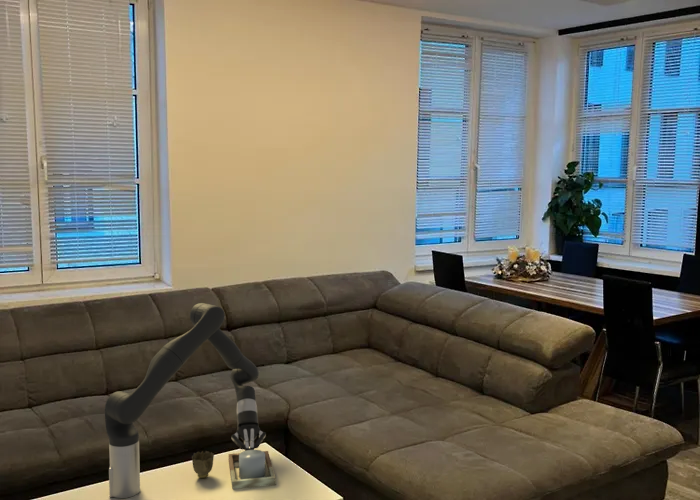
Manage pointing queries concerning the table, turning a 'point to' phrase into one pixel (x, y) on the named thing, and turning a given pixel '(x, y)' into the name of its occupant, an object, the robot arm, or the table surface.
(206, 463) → the cup
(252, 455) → the slate stoneware canister
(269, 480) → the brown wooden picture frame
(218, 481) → the table surface
